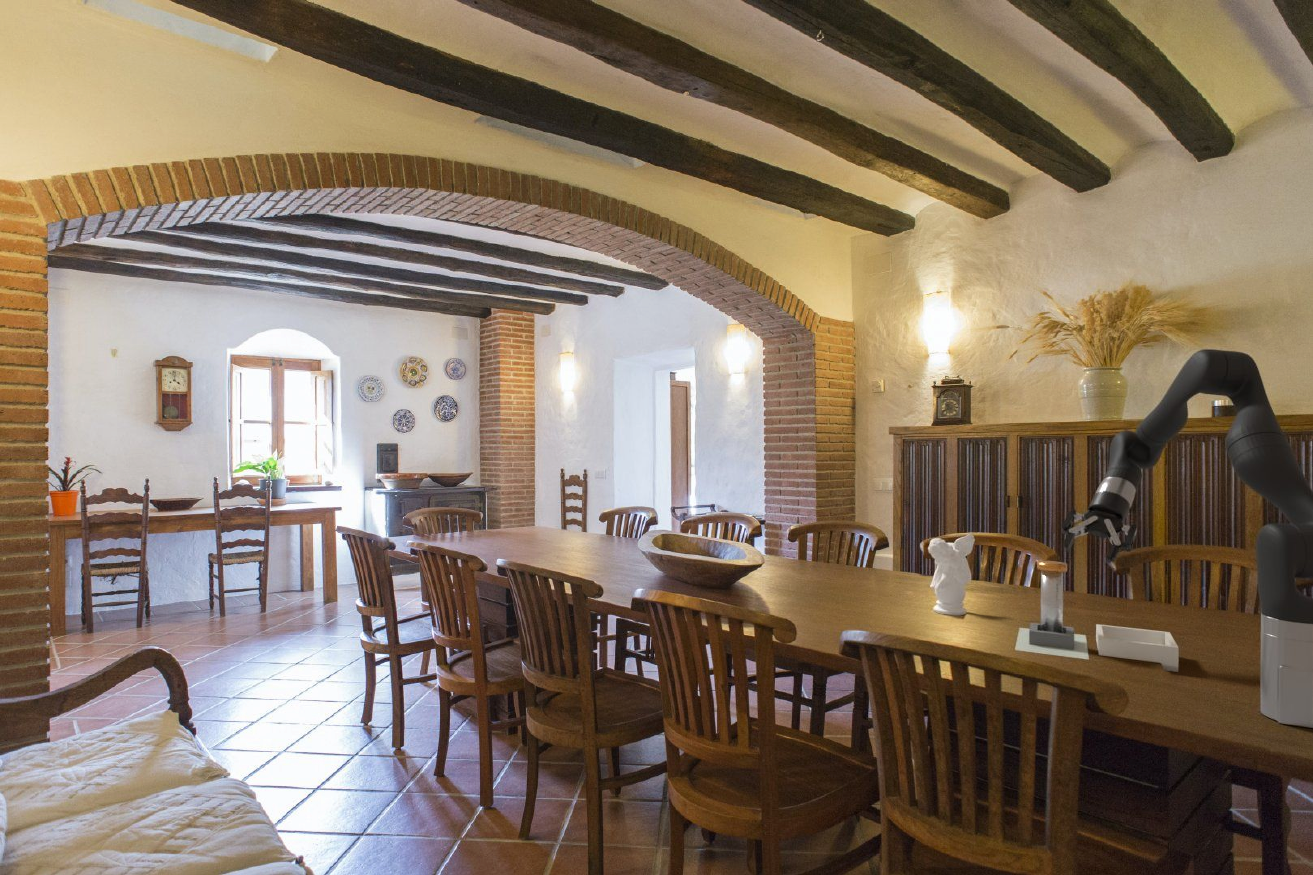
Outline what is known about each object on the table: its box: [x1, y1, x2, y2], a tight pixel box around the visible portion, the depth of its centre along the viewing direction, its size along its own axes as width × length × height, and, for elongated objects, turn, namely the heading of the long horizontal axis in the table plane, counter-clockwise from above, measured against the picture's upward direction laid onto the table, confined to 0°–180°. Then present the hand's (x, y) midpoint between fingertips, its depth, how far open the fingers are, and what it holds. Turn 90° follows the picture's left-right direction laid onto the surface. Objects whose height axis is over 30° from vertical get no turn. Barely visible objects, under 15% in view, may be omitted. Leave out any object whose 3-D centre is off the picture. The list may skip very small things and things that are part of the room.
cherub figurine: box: [927, 532, 976, 616], centre depth 206 cm, size 12×12×22 cm
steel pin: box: [1036, 560, 1068, 633], centre depth 168 cm, size 6×6×18 cm
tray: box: [1095, 623, 1180, 673], centre depth 161 cm, size 14×14×5 cm
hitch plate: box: [1014, 622, 1090, 660], centre depth 168 cm, size 22×14×4 cm, turn 151°
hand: (1087, 554), depth 167 cm, fingers open, 8 cm apart
